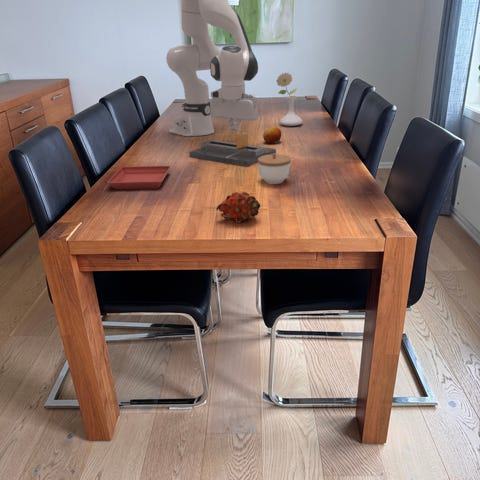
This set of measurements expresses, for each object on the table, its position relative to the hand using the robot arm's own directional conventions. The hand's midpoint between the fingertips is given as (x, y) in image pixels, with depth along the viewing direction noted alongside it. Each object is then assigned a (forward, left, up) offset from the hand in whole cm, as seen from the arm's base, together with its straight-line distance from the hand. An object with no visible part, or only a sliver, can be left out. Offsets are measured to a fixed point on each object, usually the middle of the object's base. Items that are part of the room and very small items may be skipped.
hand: (234, 130), depth 182 cm
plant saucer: (-9, -42, -11) cm, 44 cm away
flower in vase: (-9, +59, -10) cm, 61 cm away
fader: (+4, 0, -8) cm, 9 cm away
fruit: (+2, +25, -11) cm, 27 cm away
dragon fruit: (+39, -52, -11) cm, 66 cm away
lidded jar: (+30, -19, -10) cm, 37 cm away
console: (-1, 0, -10) cm, 10 cm away
